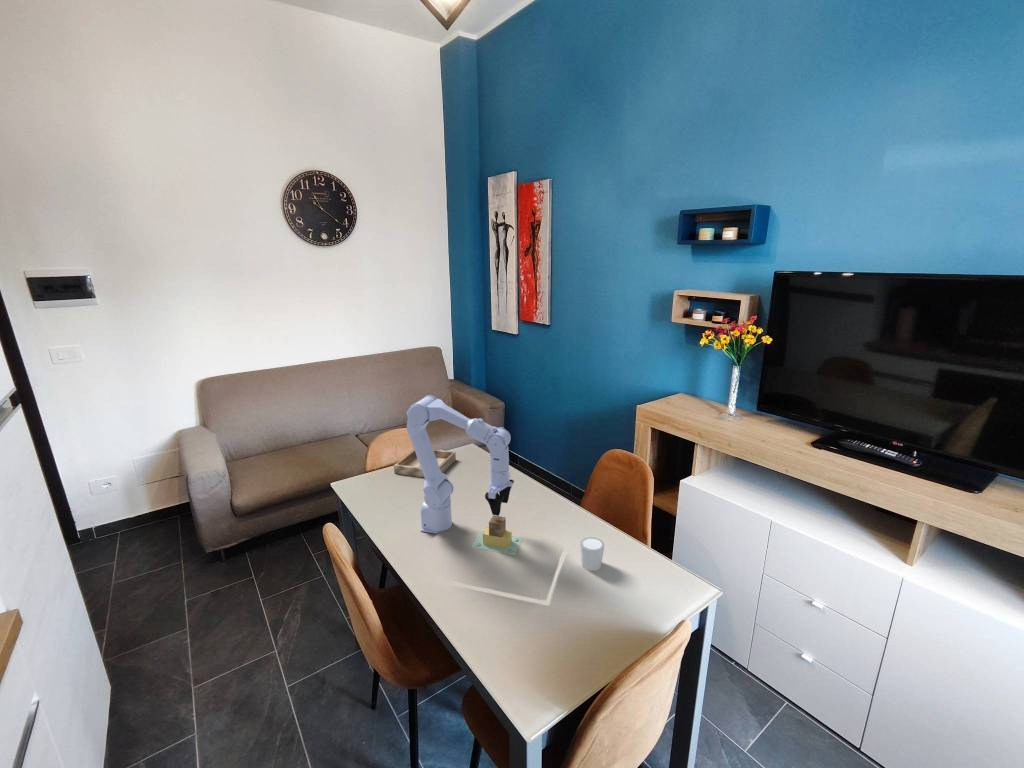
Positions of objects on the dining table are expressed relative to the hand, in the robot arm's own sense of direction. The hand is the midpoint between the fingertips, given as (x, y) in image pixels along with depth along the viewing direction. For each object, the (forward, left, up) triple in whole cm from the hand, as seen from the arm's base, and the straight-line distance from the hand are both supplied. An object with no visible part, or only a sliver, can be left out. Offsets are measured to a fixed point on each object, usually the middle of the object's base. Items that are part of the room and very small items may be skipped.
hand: (500, 508), depth 147 cm
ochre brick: (0, -4, -9) cm, 10 cm away
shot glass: (+29, -5, -11) cm, 32 cm away
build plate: (0, -4, -10) cm, 11 cm away
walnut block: (+1, -4, -6) cm, 7 cm away
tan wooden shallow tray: (-47, +40, -10) cm, 62 cm away
